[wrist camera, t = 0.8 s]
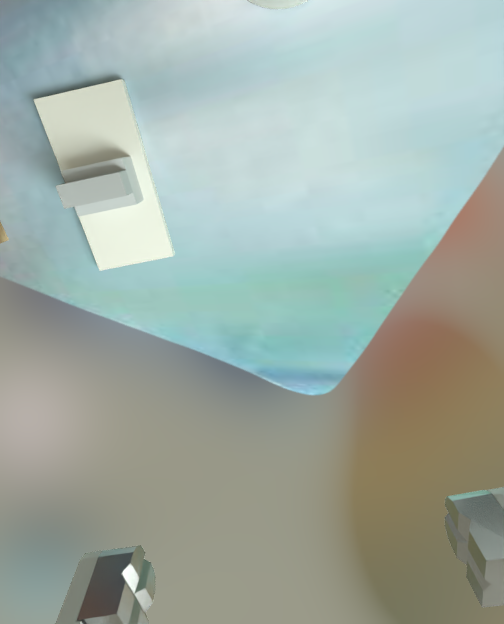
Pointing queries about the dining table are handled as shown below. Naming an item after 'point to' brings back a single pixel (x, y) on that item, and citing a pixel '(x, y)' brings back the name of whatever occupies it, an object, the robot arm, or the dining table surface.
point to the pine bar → (2, 234)
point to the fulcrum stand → (106, 173)
